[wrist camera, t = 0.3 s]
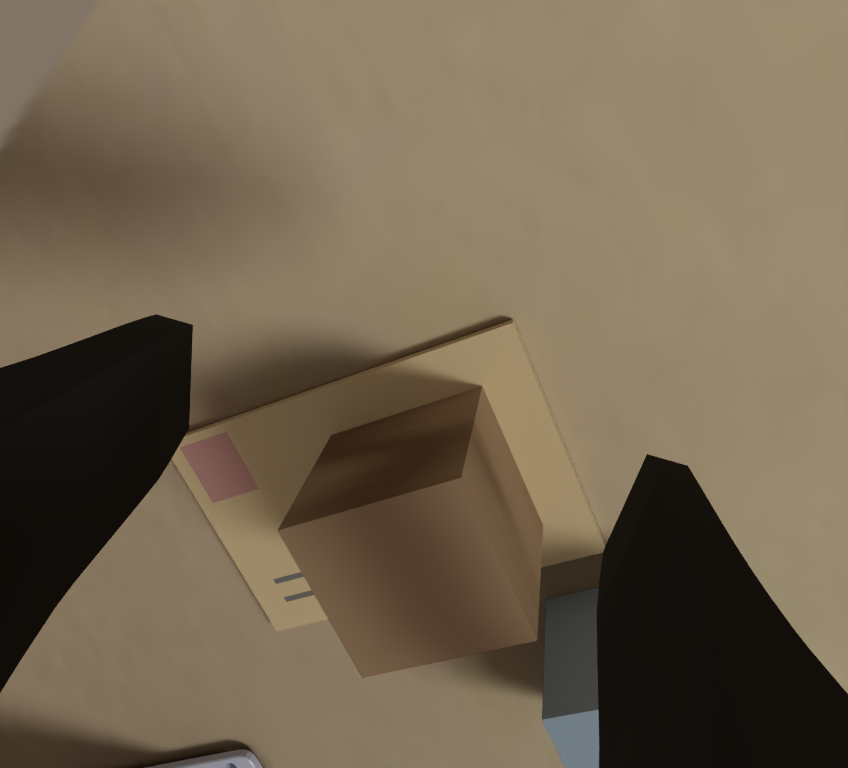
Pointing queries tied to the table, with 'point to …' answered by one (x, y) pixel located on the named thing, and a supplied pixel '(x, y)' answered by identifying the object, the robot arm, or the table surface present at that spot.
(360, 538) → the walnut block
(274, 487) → the letter
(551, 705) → the slate cube
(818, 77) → the table surface
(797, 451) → the table surface
